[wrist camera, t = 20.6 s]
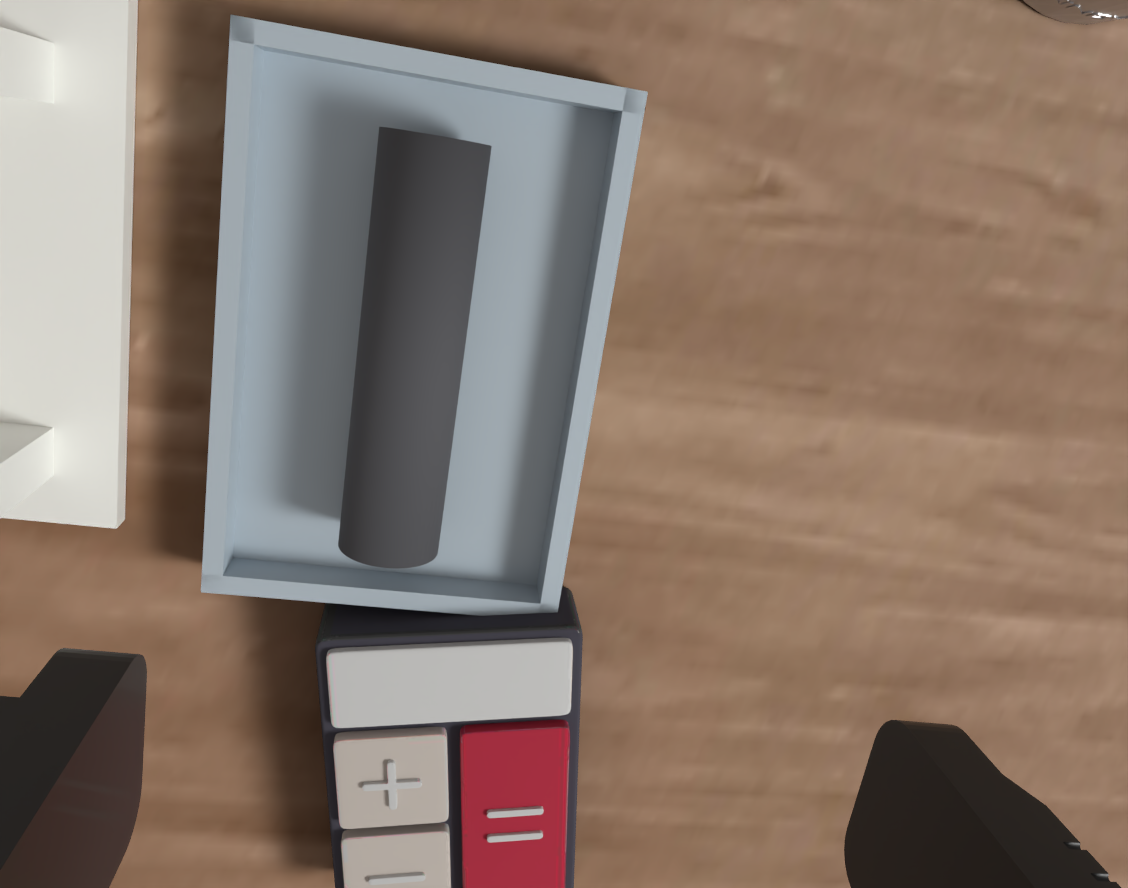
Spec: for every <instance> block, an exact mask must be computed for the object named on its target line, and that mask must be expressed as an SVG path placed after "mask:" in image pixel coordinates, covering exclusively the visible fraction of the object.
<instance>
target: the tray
mask: <svg viewBox="0 0 1128 888" xmlns="http://www.w3.org/2000/svg"><path fill="white" fill-rule="evenodd" d="M647 93H648V92H646V91H641V90H635V89H630V88H624V87H619V86H614V85H608V84H603V83H597V82H592V81H587V80H581V79H576V78H571V77H565V76H560V75H554V74H549V73H544V72H538V71H533V70H527V69H522V68H517V67H511V66H506V65H500V64H495V63H490V62H484V61H479V60H473V59H468V58H463V57H457V56H452V55H446V54H441V53H436V52H430V51H425V50H419V49H414V48H409V47H403V46H398V45H392V44H387V43H382V42H376V41H371V40H365V39H360V38H355V37H349V36H344V35H338V34H333V33H328V32H322V31H317V30H311V29H306V28H301V27H295V26H290V25H284V24H279V23H274V22H268V21H263V20H257V19H252V18H247V17H241V16H236V15H231V17H230V37H229V56H228V76H227V95H226V115H225V134H224V154H223V173H222V192H221V212H220V231H219V251H218V270H217V290H216V309H215V329H214V348H213V368H212V387H211V407H210V426H209V445H208V465H207V484H206V504H205V523H204V543H203V562H202V582H201V592H205V593H216V594H228V595H240V596H252V597H264V598H276V599H288V600H300V601H311V602H323V603H335V604H347V605H359V606H371V607H383V608H395V609H406V610H418V611H430V612H442V613H454V614H466V615H478V616H486V615H509V614H532V613H555V612H558V607H559V601H560V596H561V590H562V584H563V578H564V573H565V567H566V561H567V555H568V549H569V544H570V538H571V532H572V526H573V521H574V515H575V509H576V503H577V497H578V492H579V486H580V480H581V474H582V469H583V463H584V457H585V451H586V446H587V440H588V434H589V428H590V422H591V417H592V411H593V405H594V399H595V394H596V388H597V382H598V376H599V370H600V365H601V359H602V353H603V347H604V342H605V336H606V330H607V324H608V319H609V313H610V307H611V301H612V295H613V290H614V284H615V278H616V272H617V267H618V261H619V255H620V249H621V243H622V238H623V232H624V226H625V220H626V215H627V209H628V203H629V197H630V191H631V186H632V180H633V174H634V168H635V163H636V157H637V151H638V145H639V140H640V134H641V128H642V122H643V116H644V111H645V105H646V99H647ZM379 127H388V128H395V129H402V130H408V131H414V132H420V133H426V134H432V135H438V136H444V137H449V138H455V139H460V140H466V141H471V142H476V143H481V144H486V145H490V146H492V147H491V155H490V163H489V170H488V178H487V185H486V193H485V200H484V208H483V216H482V223H481V231H480V238H479V246H478V253H477V261H476V269H475V276H474V284H473V291H472V299H471V306H470V314H469V321H468V329H467V337H466V344H465V352H464V359H463V367H462V374H461V382H460V390H459V397H458V405H457V412H456V420H455V427H454V435H453V443H452V450H451V458H450V465H449V473H448V480H447V488H446V495H445V503H444V511H443V518H442V526H441V533H440V541H439V548H438V554H437V556H436V558H435V559H434V560H432V561H431V562H429V563H427V564H424V565H421V566H417V567H412V568H399V569H394V568H381V567H375V566H370V565H366V564H362V563H360V562H357V561H354V560H352V559H350V558H349V557H347V556H346V555H344V554H343V553H342V552H341V551H340V549H339V547H338V540H339V530H340V519H341V509H342V499H343V489H344V479H345V469H346V459H347V448H348V438H349V428H350V418H351V408H352V398H353V388H354V377H355V367H356V357H357V347H358V337H359V327H360V317H361V307H362V296H363V286H364V276H365V266H366V256H367V246H368V236H369V225H370V215H371V205H372V195H373V185H374V175H375V165H376V154H377V144H378V134H379Z"/></svg>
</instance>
